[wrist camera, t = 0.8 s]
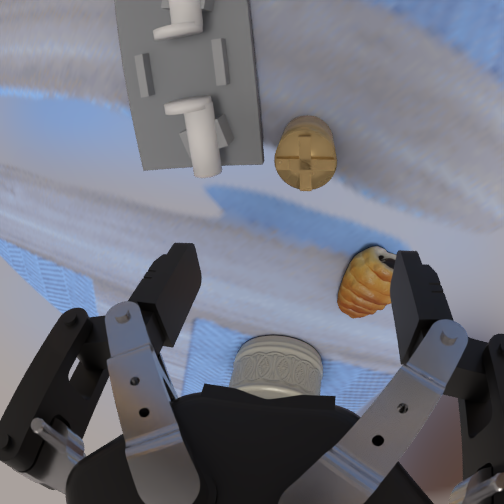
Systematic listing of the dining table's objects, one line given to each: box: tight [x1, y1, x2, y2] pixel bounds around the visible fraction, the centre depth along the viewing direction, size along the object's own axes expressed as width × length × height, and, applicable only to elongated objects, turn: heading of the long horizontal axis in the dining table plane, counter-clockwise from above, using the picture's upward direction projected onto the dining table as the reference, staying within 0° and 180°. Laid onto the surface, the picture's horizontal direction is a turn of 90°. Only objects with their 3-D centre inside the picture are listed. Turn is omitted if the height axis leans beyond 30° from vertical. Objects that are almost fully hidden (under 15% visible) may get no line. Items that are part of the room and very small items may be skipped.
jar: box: [229, 336, 323, 399], centre depth 38 cm, size 13×13×18 cm
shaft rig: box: [114, 0, 264, 178], centre depth 22 cm, size 19×12×5 cm, turn 5°
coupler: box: [275, 115, 337, 191], centre depth 24 cm, size 4×4×7 cm
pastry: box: [337, 246, 396, 318], centre depth 33 cm, size 9×7×4 cm
